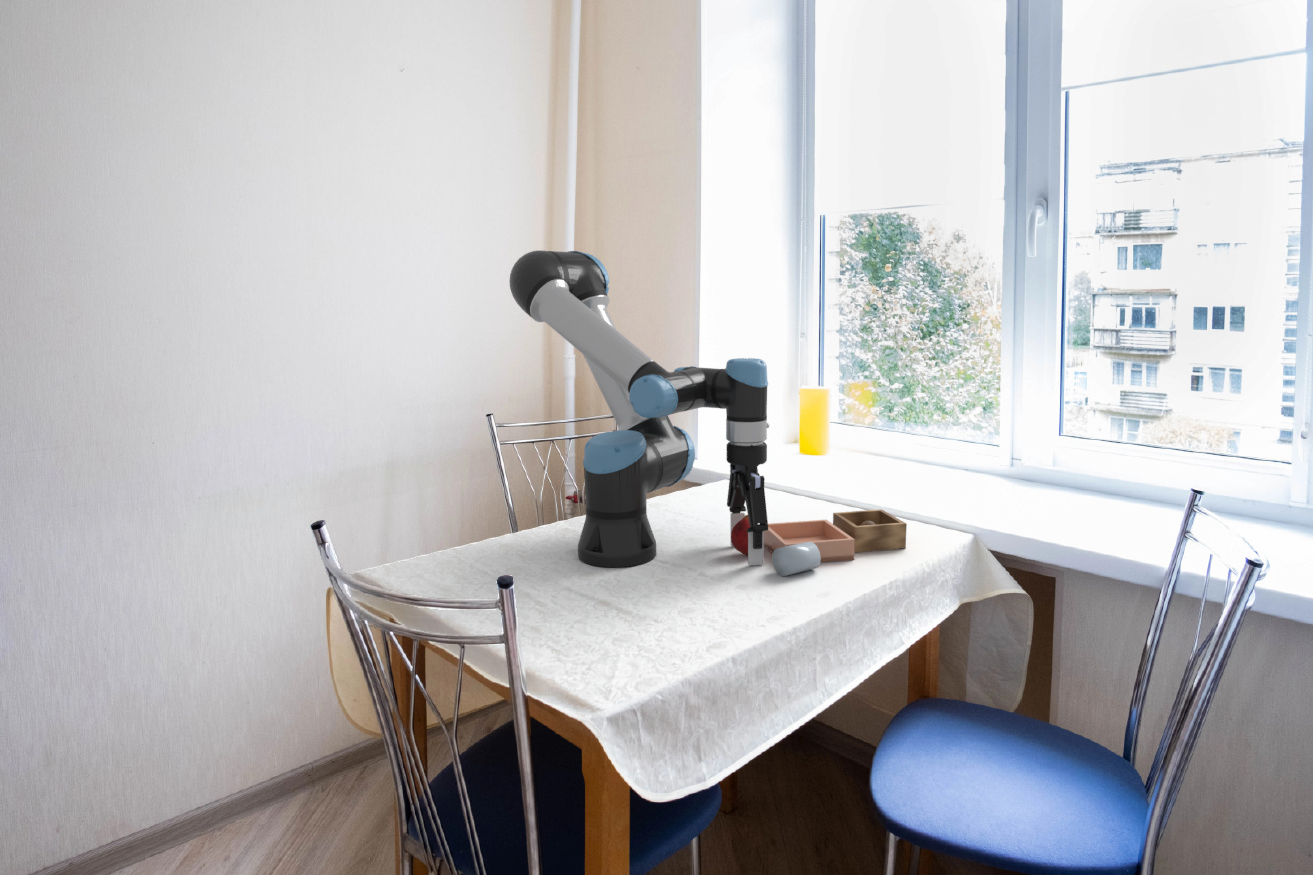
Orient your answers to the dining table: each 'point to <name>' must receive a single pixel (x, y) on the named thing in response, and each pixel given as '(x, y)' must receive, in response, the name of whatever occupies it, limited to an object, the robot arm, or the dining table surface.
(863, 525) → the chestnut
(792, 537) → the tray
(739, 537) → the onion
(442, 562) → the dining table surface
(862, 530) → the crate
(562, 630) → the dining table surface
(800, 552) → the pale blue capsule
